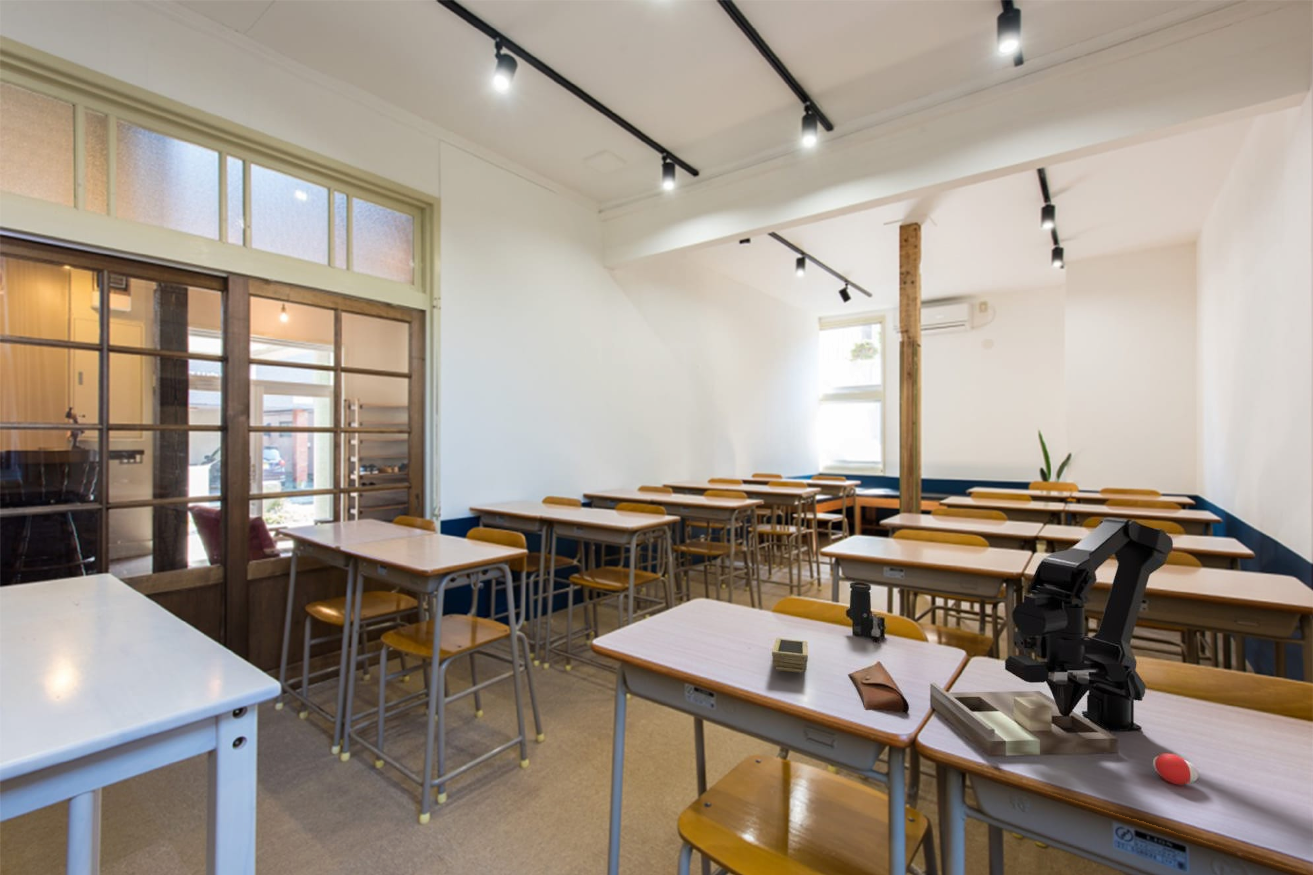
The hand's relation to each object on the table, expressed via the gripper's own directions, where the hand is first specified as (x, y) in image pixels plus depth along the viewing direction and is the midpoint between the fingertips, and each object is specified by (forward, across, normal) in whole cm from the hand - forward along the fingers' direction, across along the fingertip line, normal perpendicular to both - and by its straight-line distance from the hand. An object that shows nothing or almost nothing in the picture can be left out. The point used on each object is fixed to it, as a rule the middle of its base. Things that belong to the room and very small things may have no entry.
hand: (1064, 715), depth 99 cm
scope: (+4, +13, -53) cm, 55 cm away
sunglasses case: (+5, +26, -20) cm, 33 cm away
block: (+2, +6, 0) cm, 6 cm away
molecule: (+4, -8, +13) cm, 16 cm away
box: (+4, +39, -35) cm, 53 cm away
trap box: (+4, +6, -4) cm, 8 cm away
